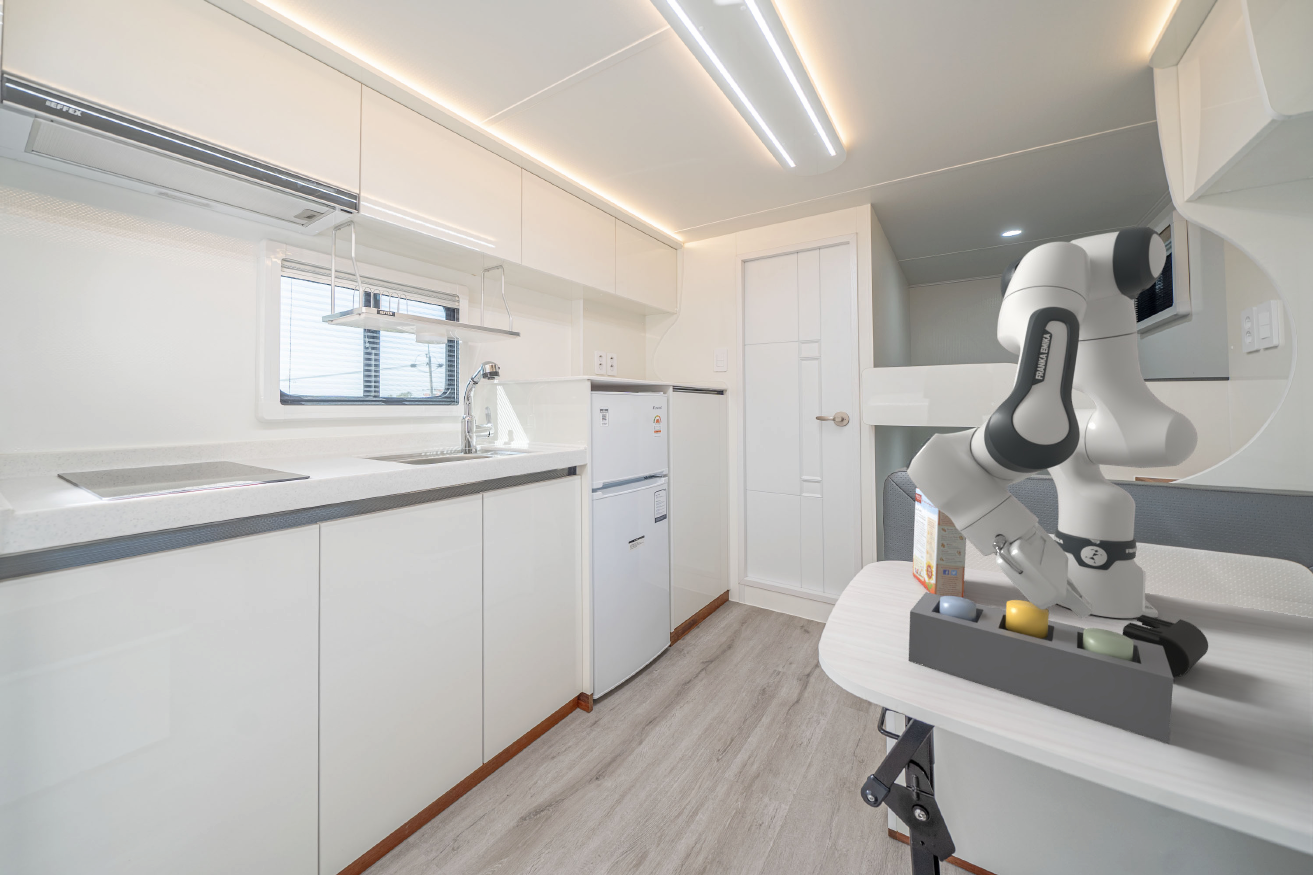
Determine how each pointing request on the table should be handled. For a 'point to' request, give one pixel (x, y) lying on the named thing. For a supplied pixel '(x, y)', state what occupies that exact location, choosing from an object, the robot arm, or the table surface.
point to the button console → (1047, 667)
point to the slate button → (958, 608)
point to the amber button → (1027, 619)
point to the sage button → (1108, 643)
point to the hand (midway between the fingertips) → (1087, 612)
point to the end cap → (1171, 641)
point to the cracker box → (937, 550)
